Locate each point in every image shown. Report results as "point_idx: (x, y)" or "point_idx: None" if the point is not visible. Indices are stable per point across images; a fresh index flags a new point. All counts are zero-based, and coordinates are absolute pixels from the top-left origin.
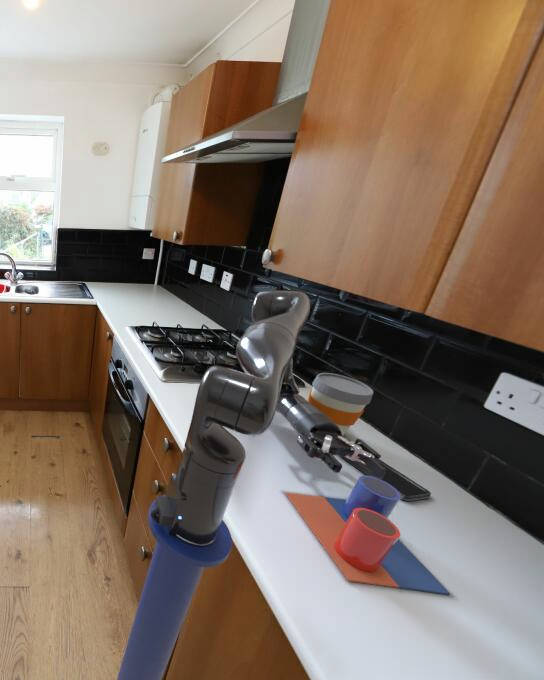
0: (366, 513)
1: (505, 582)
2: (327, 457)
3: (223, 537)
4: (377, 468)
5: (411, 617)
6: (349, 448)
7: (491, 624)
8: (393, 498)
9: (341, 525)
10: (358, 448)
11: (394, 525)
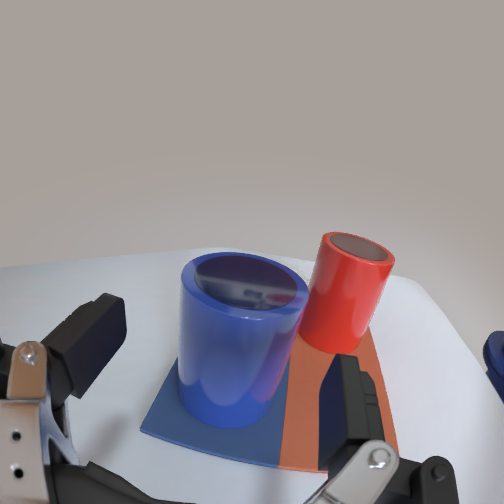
0: (367, 255)
1: (99, 270)
2: (378, 417)
3: (497, 351)
4: (107, 324)
5: (308, 283)
6: (72, 467)
7: None
8: (245, 256)
9: (306, 380)
10: (38, 406)
11: (326, 237)
